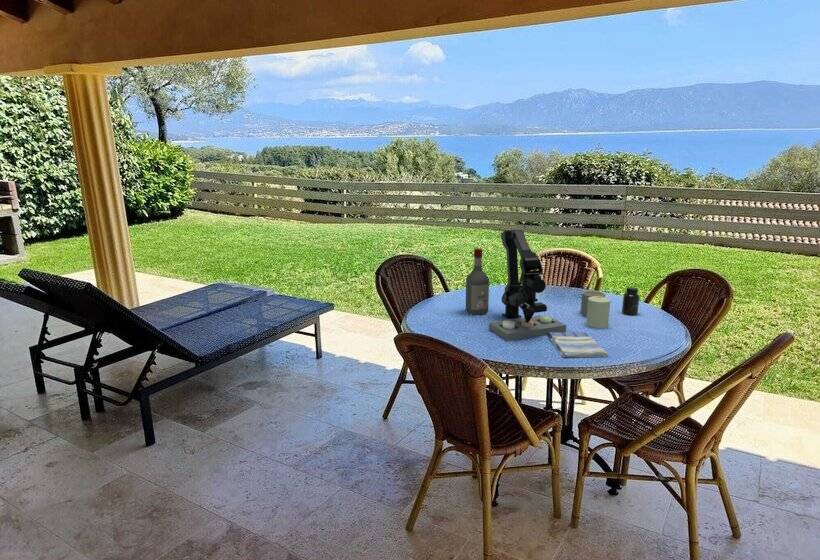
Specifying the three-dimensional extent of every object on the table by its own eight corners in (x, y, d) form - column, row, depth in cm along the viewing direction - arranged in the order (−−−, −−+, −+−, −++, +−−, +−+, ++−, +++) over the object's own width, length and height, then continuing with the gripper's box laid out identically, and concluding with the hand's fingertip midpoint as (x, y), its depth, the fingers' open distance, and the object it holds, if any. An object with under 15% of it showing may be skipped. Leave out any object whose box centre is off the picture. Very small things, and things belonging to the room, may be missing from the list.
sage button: (537, 322, 226) (537, 316, 225) (547, 321, 228) (547, 314, 227) (543, 326, 221) (544, 319, 221) (553, 324, 223) (554, 318, 222)
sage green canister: (607, 322, 231) (609, 295, 228) (609, 329, 223) (611, 301, 220) (585, 320, 234) (587, 294, 231) (586, 327, 225) (588, 300, 222)
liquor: (490, 314, 244) (492, 250, 236) (472, 316, 241) (474, 252, 233) (480, 308, 252) (482, 246, 245) (463, 310, 249) (464, 248, 241)
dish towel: (562, 359, 193) (563, 352, 192) (545, 336, 216) (546, 330, 215) (609, 359, 193) (610, 351, 193) (588, 336, 216) (588, 329, 215)
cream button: (500, 328, 220) (500, 321, 219) (510, 326, 221) (510, 319, 221) (506, 332, 215) (506, 325, 214) (517, 330, 217) (517, 323, 216)
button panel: (488, 329, 224) (489, 322, 223) (545, 321, 233) (545, 314, 233) (507, 341, 210) (507, 334, 210) (565, 331, 220) (566, 325, 219)
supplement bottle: (635, 316, 238) (637, 291, 235) (619, 313, 242) (622, 288, 239) (639, 312, 243) (642, 287, 240) (624, 310, 247) (626, 285, 244)
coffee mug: (606, 317, 237) (607, 296, 234) (583, 317, 237) (585, 296, 235) (598, 308, 250) (599, 288, 247) (576, 308, 250) (578, 288, 248)
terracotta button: (518, 327, 223) (519, 321, 222) (528, 326, 225) (529, 319, 224) (525, 331, 219) (525, 324, 218) (535, 330, 220) (535, 323, 219)
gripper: (500, 283, 223) (499, 318, 227) (524, 294, 206) (522, 332, 210) (523, 280, 227) (521, 314, 231) (548, 291, 210) (546, 328, 214)
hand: (527, 322), depth 221 cm, fingers closed, pressing on terracotta button
